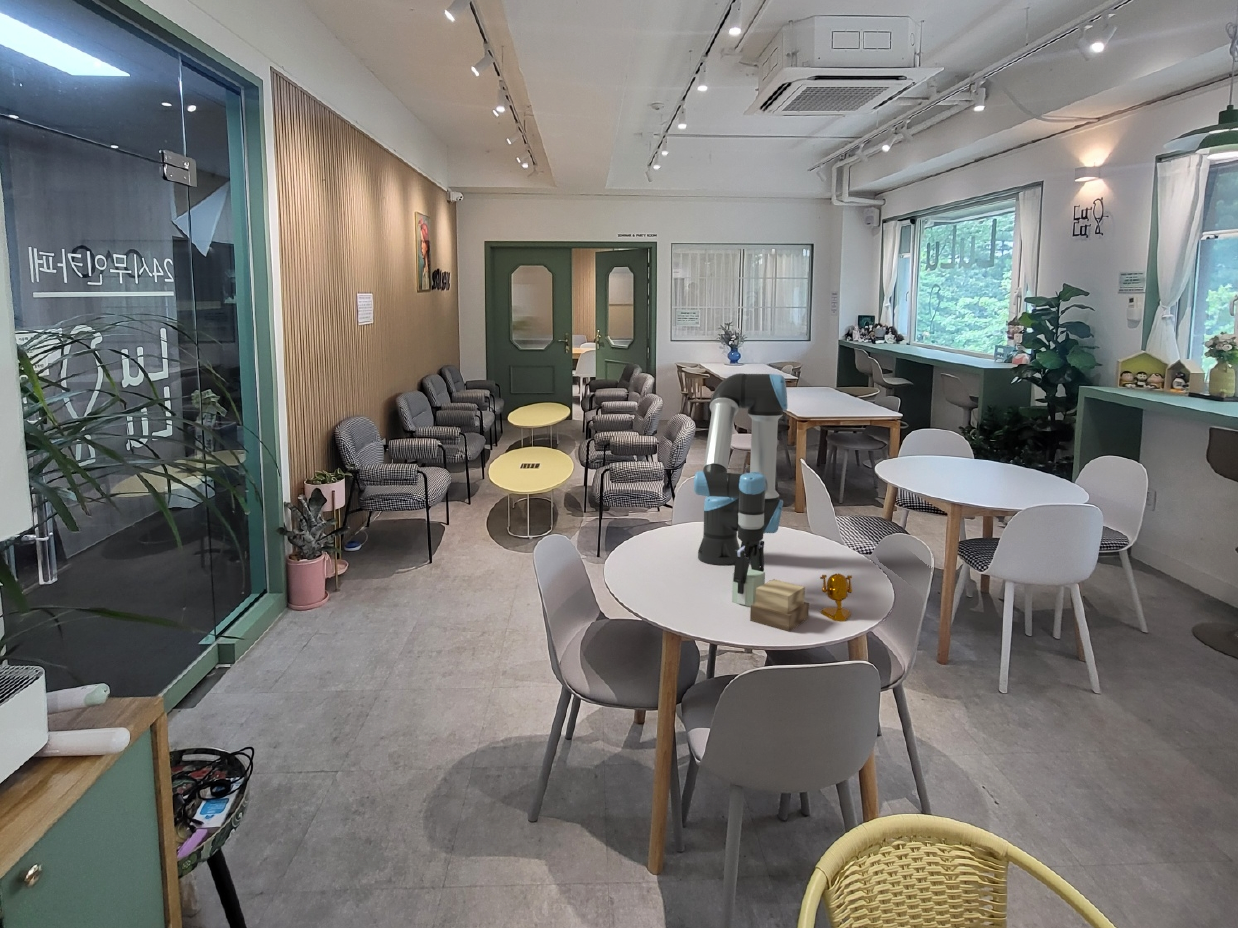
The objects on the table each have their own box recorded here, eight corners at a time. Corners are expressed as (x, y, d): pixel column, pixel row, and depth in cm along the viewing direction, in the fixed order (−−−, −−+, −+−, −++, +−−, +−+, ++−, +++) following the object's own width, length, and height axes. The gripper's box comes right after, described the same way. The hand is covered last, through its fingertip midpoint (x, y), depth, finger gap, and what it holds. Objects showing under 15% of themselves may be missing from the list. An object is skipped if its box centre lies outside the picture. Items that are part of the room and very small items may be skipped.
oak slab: (772, 595, 237) (773, 578, 236) (804, 603, 231) (805, 586, 230) (755, 605, 230) (756, 588, 229) (787, 613, 223) (788, 596, 222)
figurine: (847, 607, 240) (849, 568, 238) (855, 621, 230) (858, 581, 227) (817, 606, 241) (820, 568, 238) (824, 620, 230) (827, 580, 228)
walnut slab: (770, 609, 240) (771, 593, 239) (808, 619, 232) (809, 603, 231) (750, 622, 230) (750, 605, 229) (788, 632, 223) (789, 615, 222)
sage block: (743, 595, 250) (744, 567, 248) (763, 600, 246) (765, 572, 244) (731, 602, 244) (732, 573, 243) (752, 607, 240) (753, 578, 238)
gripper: (755, 516, 250) (753, 587, 255) (722, 531, 235) (720, 606, 239) (777, 520, 246) (774, 592, 250) (745, 535, 230) (742, 612, 235)
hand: (748, 599), depth 245 cm, fingers closed on sage block, 7 cm apart
